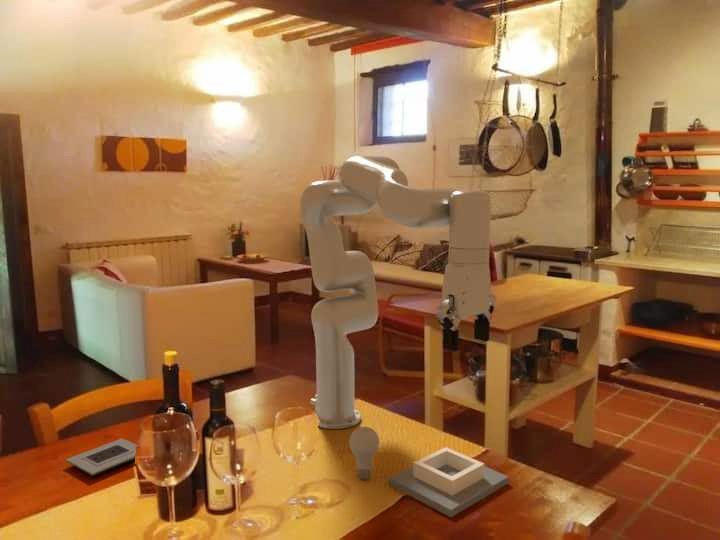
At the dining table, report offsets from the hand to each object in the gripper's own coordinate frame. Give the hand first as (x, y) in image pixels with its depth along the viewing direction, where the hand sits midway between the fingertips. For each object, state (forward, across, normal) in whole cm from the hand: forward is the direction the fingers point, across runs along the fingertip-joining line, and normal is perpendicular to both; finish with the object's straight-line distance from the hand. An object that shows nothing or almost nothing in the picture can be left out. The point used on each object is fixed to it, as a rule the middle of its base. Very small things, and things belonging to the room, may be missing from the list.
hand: (466, 344), depth 116 cm
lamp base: (+29, +2, -2) cm, 29 cm away
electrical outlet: (+30, +48, -59) cm, 82 cm away
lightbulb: (+29, +12, -16) cm, 35 cm away
